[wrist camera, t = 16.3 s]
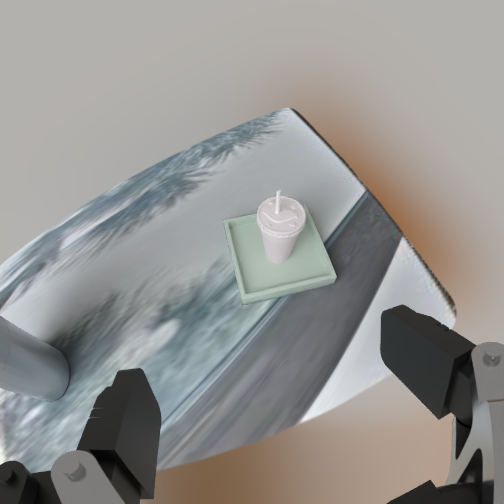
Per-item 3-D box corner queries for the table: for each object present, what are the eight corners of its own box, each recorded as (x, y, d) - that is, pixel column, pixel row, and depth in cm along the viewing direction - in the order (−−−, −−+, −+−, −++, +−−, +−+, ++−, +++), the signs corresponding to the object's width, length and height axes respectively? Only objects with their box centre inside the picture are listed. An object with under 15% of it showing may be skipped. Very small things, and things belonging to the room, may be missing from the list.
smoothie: (259, 234, 48) (259, 169, 36) (299, 238, 48) (311, 174, 36) (254, 269, 45) (253, 208, 33) (297, 273, 44) (311, 213, 32)
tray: (242, 305, 43) (241, 299, 41) (224, 228, 50) (223, 220, 48) (333, 283, 44) (336, 276, 42) (304, 212, 51) (306, 204, 50)
